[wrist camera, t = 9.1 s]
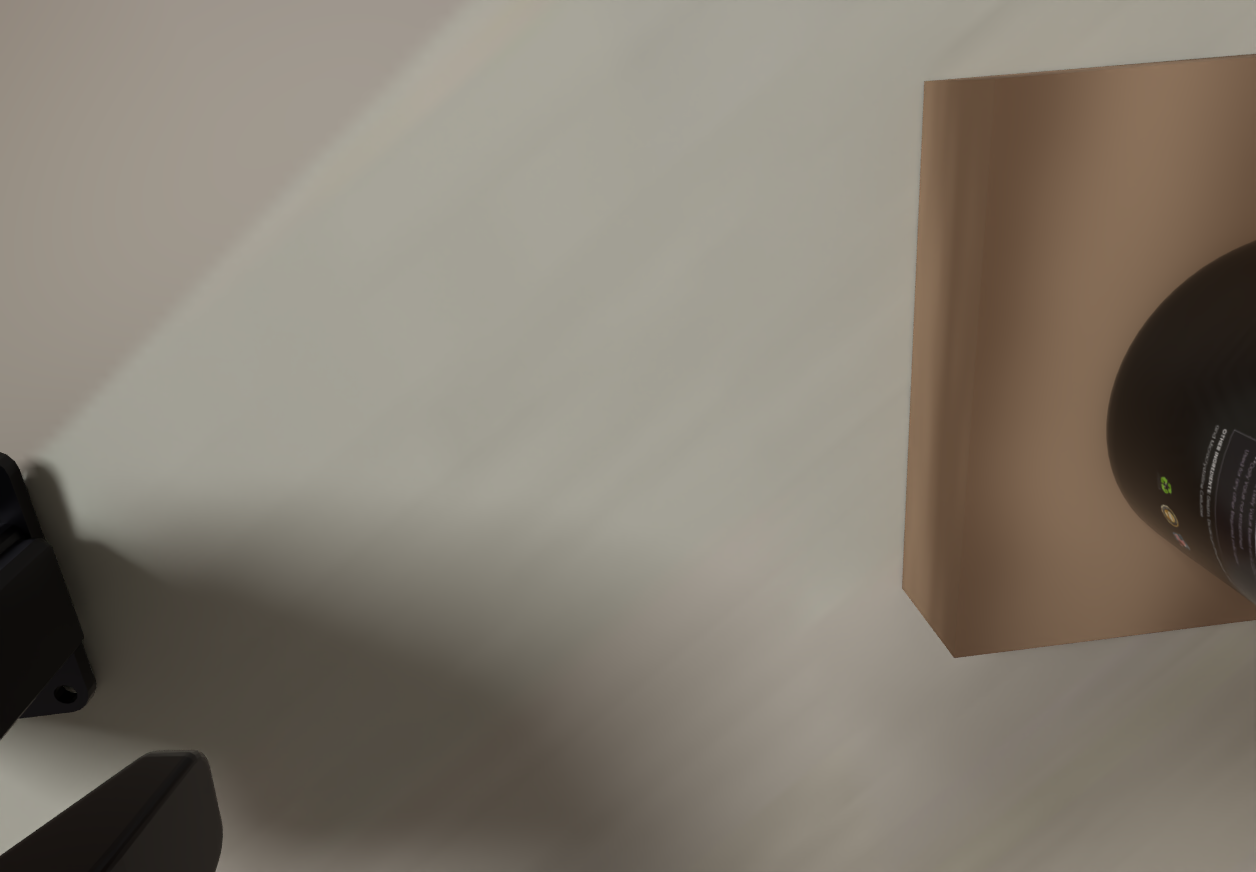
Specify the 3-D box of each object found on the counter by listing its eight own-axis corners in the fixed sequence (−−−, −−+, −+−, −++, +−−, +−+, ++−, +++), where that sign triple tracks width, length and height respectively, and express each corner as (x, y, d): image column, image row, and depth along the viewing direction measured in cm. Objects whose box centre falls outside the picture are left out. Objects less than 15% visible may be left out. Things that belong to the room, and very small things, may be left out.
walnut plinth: (902, 588, 22) (953, 657, 20) (924, 81, 18) (996, 78, 15) (1345, 534, 23) (1455, 593, 20) (1470, 35, 19) (1632, 25, 16)
